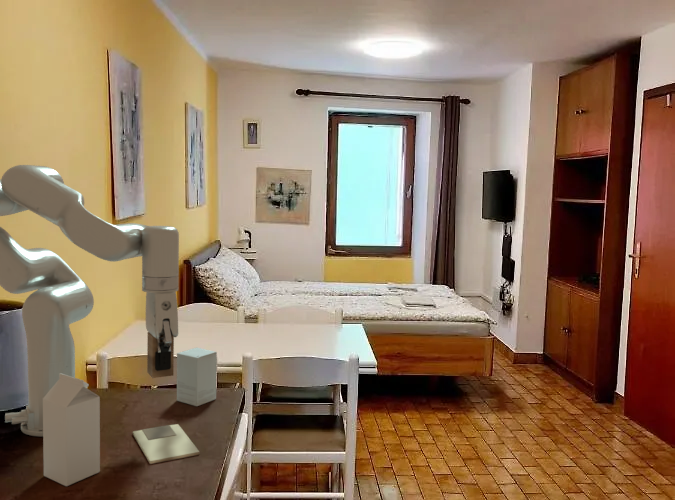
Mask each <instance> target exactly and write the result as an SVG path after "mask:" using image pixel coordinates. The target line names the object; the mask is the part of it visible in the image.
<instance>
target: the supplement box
mask: <svg viewBox="0 0 675 500" xmlns="http://www.w3.org/2000/svg"><path fill="white" fill-rule="evenodd" d="M217 353H218V352H217V351H214V350H210V349H205V348H201V347H194V348H190V349H187V350H184V351H180V352H177V353H176V401H177V402H180V403H184V404H188V405H190V406H193V407H198V406H199V407H200V406H201V405H204V404H206V403H209V402H212V401H214V400H216V399H217V359H218V357H217V355H218V354H217Z"/></svg>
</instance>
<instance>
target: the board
mask: <svg viewBox="0 0 675 500" xmlns="http://www.w3.org/2000/svg"><path fill="white" fill-rule="evenodd" d="M132 436H133V437H134V439H135V440H136V442H137V444H138V445H139V447H140V449H141V451H142V452H143V454H144V456H145V458H146V459H147V461H148V463H149V465H152V464H156V463H162V462H167V461H173V460H178V459H183V458H188V457H194V456H199V455H201V454H200V450H199V449H198V448H197V446H196V445H195V444H194V443H193V442H192V440H191V439H190V438H189V436H188V435H187V433H186V432H185V431H184V430H183V428H182V427H181V426H180V425H179V423H177V424H176V423H175V424H166V425H161V426H155V427H150V428H149V427H148V428H144V429H139V430H134V431H132Z"/></svg>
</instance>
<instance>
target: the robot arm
mask: <svg viewBox="0 0 675 500" xmlns="http://www.w3.org/2000/svg"><path fill="white" fill-rule="evenodd" d="M26 211H30V212H32V213H34V214H36V215H38V216H39V217H41V218H43V219H44V220H47V221H49V222H50V223H52V224H53V225H55V226H57V227H58V228H59V229H60V231H61V233H62V234H63V235H64V236H65V237H66V238H67V239H68V240H69V241H70V242H71V243H73V244H74V245H75V246H76V247H78V248H80V249H82V250H83V251H85V252H87V253H89V254H91V255H93V256H94V257H97V258H99V259H101V260H104V261H107V262H121V261H123V260H128V259H133V258H138V257H139V258H140V257H141V261H142V262H141V267H142V268H141V269H142V271H141V291H142V292H143V293H146V295H145V328H146V331H147V333H148V332H149V333H150V334H151V335H152V336H153V337H155V338H156V343H157V352H155V369H156V370H157V371H160V370H168V369H170V368H171V343H172V339H171V334H172V335H173V337H174V338H177V337H179V315H178V312H179V311H178V300H177V299H178V298H177V294H176V292H178V291H179V278H180V277H179V275H180V274H179V272H180V271H179V268H180V267H179V266H180V265H179V261H180V260H179V257H180V256H179V255H180V252H179V251H180V245H179V243H180V240H179V239H180V234H179V230H178V229H177V228H176V227H174V226H171V225H145V224H142V223H137V222H136V223H134V222H128V223H127V222H126V223H118V224H113V223H110V222H107V221H106V220H104V219H103V218H100V217H98V216H97V215H95V214H93V213H91V212H90V210H87V209H86V207H85V198H84V195H83V194H82V193H81V192H80V191H78V190H76V189H74V188H72V187H70V186H68V185H66V184H65V183H64V179H63V177H62V175H61V174H60V173H59V172H58V171H57V170H55V169H53V168H51V167H49V166H46V165H45V166H44V165H35V164H34V165H33V164H18V165H14V166H11V167H9V168H8V169H7V170H6V171H5V172H4V173H3V174H2V177H1V178H0V217H5V216H11V215H14V214H18V213H22V212H26ZM0 287H1V288H2V289H4V291H6V292H8V293H10V294H12V295H13V294H14V295H15V294H16V295H20V294H25V293H30V292H32V291H34V292H32V293H31V294H29V295H28V297H27V298H26V299H25V300H24V302H23V305H22V309H21V316H22V317H21V318H22V322H23V326H24V330H25V336H26V347H27V348H26V350H27V354H26V355H27V387H28V390H27V394H28V395H27V396H28V398H27V399H28V400H27V402H28V403H27V404H28V405H27V404H26V405H25V407H26V408H25V409H21V410H20V411H19V412H18V411H17V412H5V415H4V420H5V421H4V423H11V425H17V424H20V430H21V431H20V432H22V433H23V434H25V435H29V436H32V437H43V398H44V397H45V395H46V394H47V393H48V392H49V391H50V389H51V388H52V387H53V386H54V385H55V384H56V382H57V381H58V380H59V373H62V374H65V375H68V376H71V377H74V378H76V349H75V348H76V347H75V340H74V337H73V334H72V331H71V328H70V325H71V324H73V323H76V322H78V321H81V320H83V319H84V318H86V317H88V316H89V315H90V313H91V312H93V311H92V310H93V309H94V303H95V300H94V296H93V293H92V291H91V289H90V287H89V286H88V285H87V284H86V283H85V281H84V280H82V278H81V277H80V276H79V275H78V274H77V273H76V272H75V271H74V270H73V269H72V268H71V266H70V265H68V264H67V262H66V261H65V260H64V259H63V258H62V257H61V256H60V255H58V254H57V253H56V252H54V251H52V250H50V249H48V248H46V247H45V248H44V247H34V248H25V247H23V246H22V245H21V244H20V243H18V241H16V239H14V238H13V237H12V236H11V234H10V233H9V232H8V231H6V230H5V229H4V228H3V227H2V226H0ZM160 335H164V337H160ZM159 337H160V338H159ZM160 340H163V341H164V342H161V345H160Z"/></svg>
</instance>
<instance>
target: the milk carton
mask: <svg viewBox="0 0 675 500" xmlns="http://www.w3.org/2000/svg"><path fill="white" fill-rule="evenodd" d="M88 387H89V383H87V382H86V381H85V380H84V379H80V378H77V377H75V378H74V377H71V376H68V375H65V374H62V373H59V380H58V381H57V382H56V384H55V385H54V386H53V387H52V388H51V389H50V391H49V392H48V393H47V394H46V395H45V397H44V398H43V436H42V438H43V440H42V441H43V442H42V444H43V445H42V446H43V447H42V448H43V449H42V450H43V452H42V453H43V454H42V455H43V476H44V477H45V478H48V479H50V480H51V481H53V482H56V483H58V484H60V485H62V486H64V487H68V486H71V485H73V484H75V483H77V482H80V481H82V480H84V479H86V478H89V477H91V476H93V475H96V474H98V473H100V472H101V432H100V431H101V428H100V427H101V425H100V423H101V420H100V419H101V415H100V414H101V410H100V409H101V408H100V407H101V401H100V400H101V399H100V398H101V397H100V396H99V395H98V394H96V392H93V391H91V390H90V389H88Z"/></svg>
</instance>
